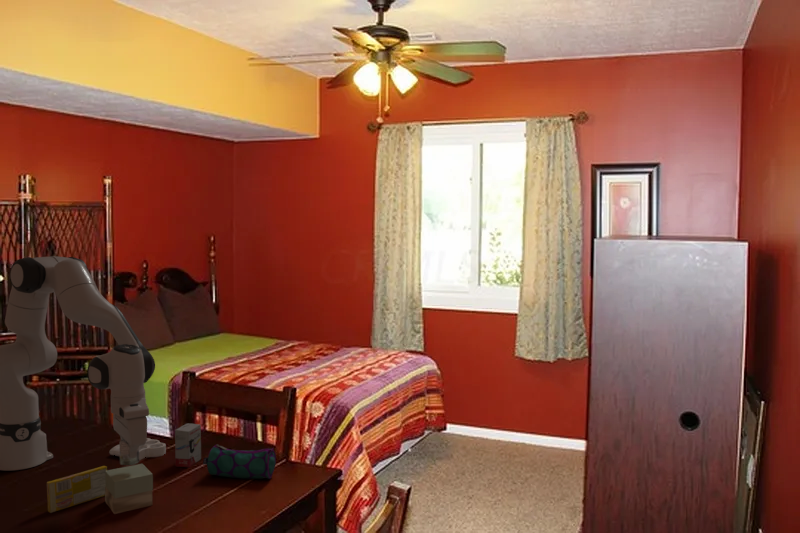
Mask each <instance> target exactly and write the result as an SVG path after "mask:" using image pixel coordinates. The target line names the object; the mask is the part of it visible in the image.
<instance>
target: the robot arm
mask: <svg viewBox="0 0 800 533" xmlns="http://www.w3.org/2000/svg"><path fill="white" fill-rule="evenodd" d="M9 280H10V284H11V285H12V286H11V290H10V293H9V296H8V302H7V307H6V312H5V317H4V318H5V319H4V324H5V326H6V328H7V329H8V330H9V331H10V332H11V333H13V334H16V339H15V341H14V342H12V343H6V344H1V345H0V471H19V470H20V471H21V470H26V469H30V468H33V467H37V466H39V465H41V464H43V463H45V462H47V461H48V460H51V459H53V458H54V454H53V453H52V452H51V451H48V442H47V433H45V432H44V431H42V430H41V427H42V426H41V424H42V421H41V417H40V416H39V414H40V413H39V412H40V411H39V410H40V409H39V395H38V393H37V392H36V391H35V390H33V389H32V388H30V387H27V386H26V385H25V383H24V379H23V378H24V377H25V376H29V375H31V376H32V375H35V374H38V373H42V372H44V371H47V370H48V369H50V368H52V367H53V366H55V364H56V362H57V359H58V350H57V347H56V346H55V344H54V343H53V342H52V341H51V340H49V339H48V337H47V334H46V330H45V329H46V319H47V314H48V313H47V312H48V307H49V303H50V295H51V294H52V293H55V296H56V299H57V303H58V304H59V307H60V309H61V311H62V313H63V315H65V317H66V318H67V319H69V320H70V321H72V322H74V323H76V324H80V325H81V324H82V325H87V326H93V327H97V328H100V329H103V330H105V331H107V332H109V333H110V334H111V335H112V337H113V339H114V340H115V341H116V343H117V345H114V346H113V347H112V349H111V350H110V351H109V352H107V353H103V354H101V355H97V356H95V357H93V358H92V359H91V361H90V362H89V363H88V366H87V370H86V371H87V380H88V382H89V383H90V385H91V386H92V387H94V388H96V389H97V390H109V389H110V391H111V392H110V412H111V414H113V415H112V416H113V417H112V425H113V430H114V431H115V432H116V434H118V435H119V437H120V441H121V440H123V439H124V440H125V441H126V442H127V443H129V451H128V456H129V457H130V458H135V457H136V456H137V448H138V446H143V445H145V443H146V439H147V438H148V436H147V434H148V416H149V415H150V409H149V406H148V404H147V399H146V389H145V386H144V384H146V383H147V382H148V381H149V380H150V379H151V378H152V376H153V374H154V372H155V369H156V362H155V359H154V357H153V355H152V353H151V352H149V350H148V349H147V348H146V347H145V346H144V345H143V343H142V342H141V341H140V339H139V338H138V336H137V334H136V332H135V331H134V329H133V328H132V326H131V325H130V324H129V322H128V320H127V319H126V317H125V315H124V314H123V312H122V311H121V310H120V309H119V308H118V307H117V306H116V305H115V304H112V303H111V302H109V301H108V300H107V298H105V297H104V296H103V295H102V293H101V292H100V290H99V289H98V286H97V284H96V281H95V280H94V278H93V276H92V275H91V273H90V271H89V269H88V266H87V264H86V262H85V261H84V260H83V259H80V258H77V257H73V256H68V257H66V256H55V255H50V256H38V257H37V256H36V257H30V256H29V257H27V256H26V257H24V258H19V259H17V260H16V261H14V262H13V264H12V266H11V268H10V270H9Z"/></svg>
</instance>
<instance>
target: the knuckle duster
mask: <svg viewBox="0 0 800 533" xmlns="http://www.w3.org/2000/svg"><path fill="white" fill-rule="evenodd" d="M166 448H167V445H166V443H164V442H160V440H158V439H153V438H152V439H151V438H150V437H147V439H146V443H145V445H143V446H139V461H141V460H143V459H145V457H146V458H159V457H162V456H164V454H165V455H166V453H167V449H166ZM108 453H109V455H111V456H114V455H115V456H116V457H119V458H120V443H119V444H117V445H115V446H113V447H112V448H111V449H110V450H109V452H108Z"/></svg>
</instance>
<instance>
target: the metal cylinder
mask: <svg viewBox="0 0 800 533" xmlns="http://www.w3.org/2000/svg"><path fill="white" fill-rule="evenodd" d="M118 443H119V444H120V457H119V464H120V465H121V466H133V465H138V464H139V463H140V460H139V446H138V448H137V456H136V457H135V458H130V457H129V456H128V451H129V443H127V442H126V441H125V440H124V439H123V440H121V439H120V440H119V442H118Z"/></svg>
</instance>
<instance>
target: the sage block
mask: <svg viewBox="0 0 800 533" xmlns="http://www.w3.org/2000/svg"><path fill="white" fill-rule="evenodd" d="M105 486H106V488H107V489H108V490H109V492H110V493H111V494H112V496H113V497H114V498H119V497H124V496H129V495H133V494H138V493H142V492H147V491H151V490H152V491H154V475H153V473H152V472H151V471H150V470H149V469H148V468H147V467H146V466H145V465H144V464H143V463H137V464H133V465H126V466H123V467H119V468H118V467H117V468H113V469H107V471H105Z"/></svg>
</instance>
